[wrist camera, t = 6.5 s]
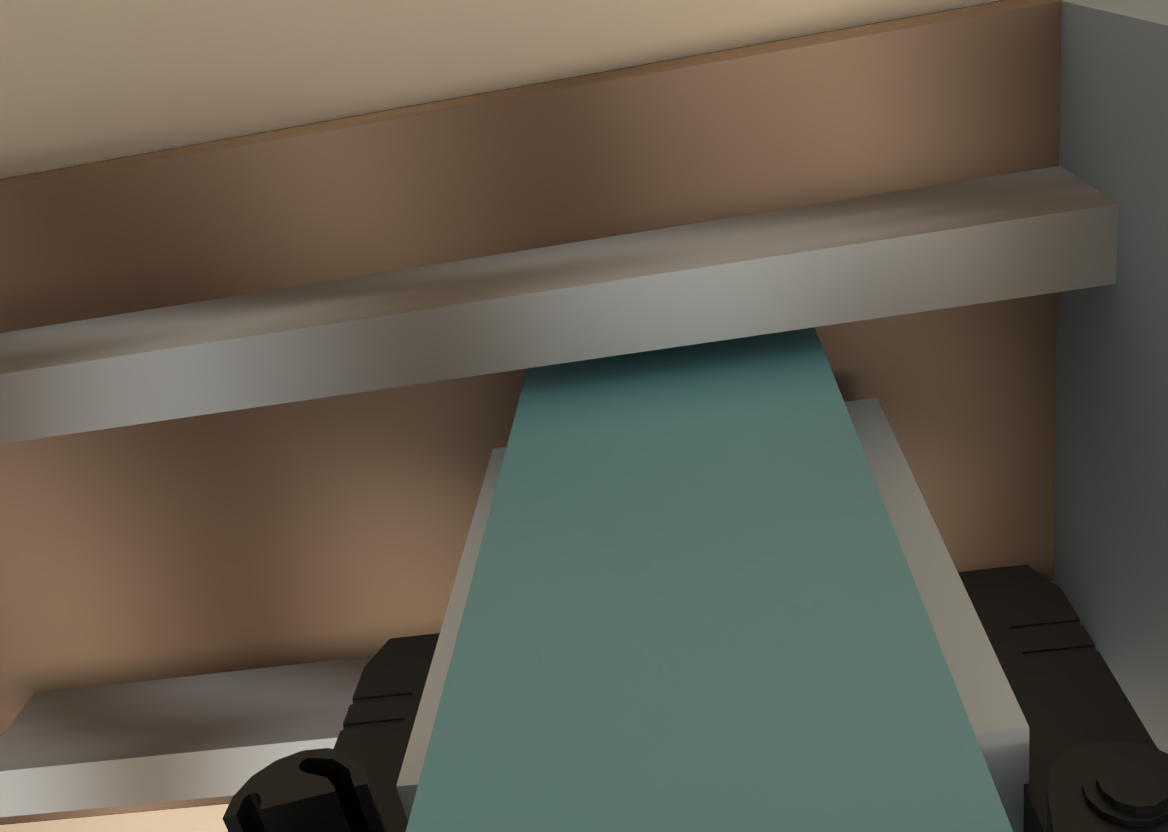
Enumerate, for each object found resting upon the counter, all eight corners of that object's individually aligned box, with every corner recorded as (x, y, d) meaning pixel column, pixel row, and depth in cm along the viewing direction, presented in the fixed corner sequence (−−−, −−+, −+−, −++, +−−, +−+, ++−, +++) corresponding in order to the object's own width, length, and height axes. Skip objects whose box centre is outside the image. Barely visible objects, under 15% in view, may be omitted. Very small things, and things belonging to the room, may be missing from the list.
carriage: (581, 633, 18) (502, 1490, 8) (516, 338, 15) (299, 1047, 6) (847, 604, 17) (1098, 1490, 8) (820, 293, 15) (1130, 996, 5)
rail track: (-36, 793, 22) (-131, 916, 19) (-353, 242, 17) (-544, 307, 14) (1416, 651, 18) (1547, 779, 16) (1567, -101, 13) (1800, -101, 11)
